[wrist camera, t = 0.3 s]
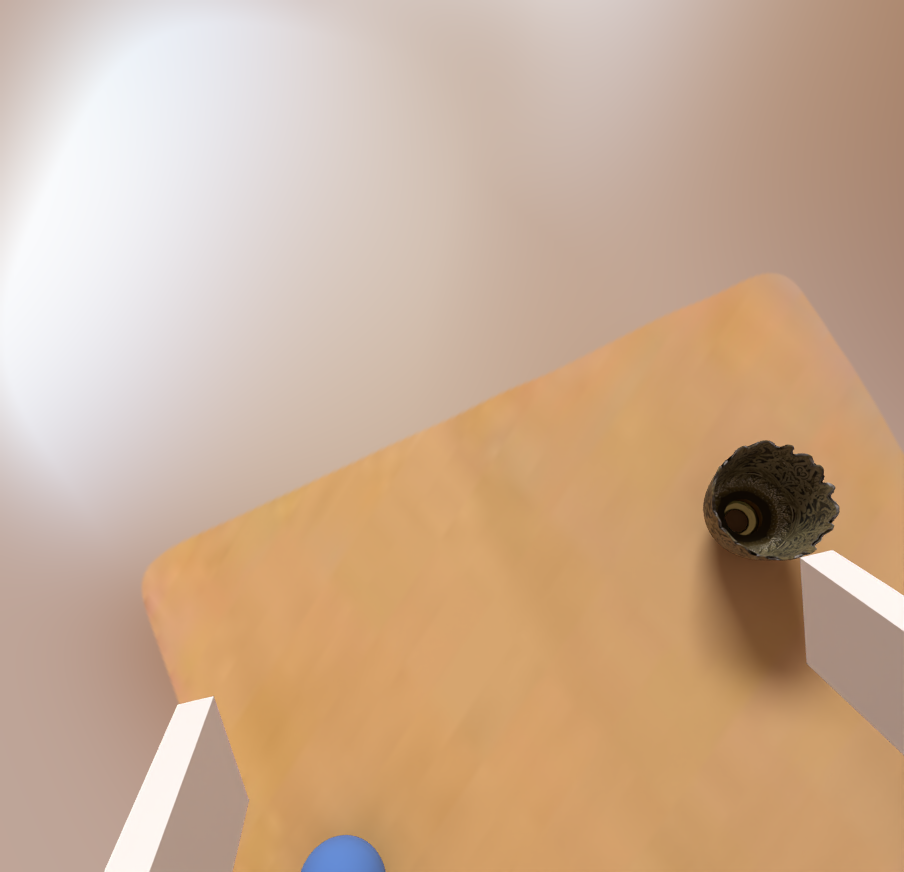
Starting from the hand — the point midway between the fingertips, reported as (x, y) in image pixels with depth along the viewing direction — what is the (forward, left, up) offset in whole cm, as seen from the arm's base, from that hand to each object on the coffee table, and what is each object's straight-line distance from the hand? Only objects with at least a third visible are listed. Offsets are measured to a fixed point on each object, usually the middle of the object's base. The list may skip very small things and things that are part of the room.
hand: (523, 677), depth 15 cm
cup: (-5, -18, -35) cm, 40 cm away
